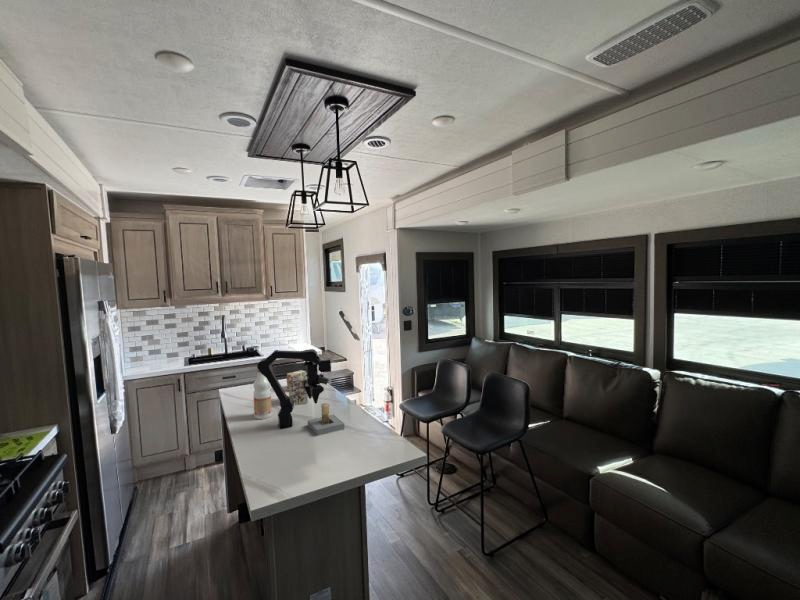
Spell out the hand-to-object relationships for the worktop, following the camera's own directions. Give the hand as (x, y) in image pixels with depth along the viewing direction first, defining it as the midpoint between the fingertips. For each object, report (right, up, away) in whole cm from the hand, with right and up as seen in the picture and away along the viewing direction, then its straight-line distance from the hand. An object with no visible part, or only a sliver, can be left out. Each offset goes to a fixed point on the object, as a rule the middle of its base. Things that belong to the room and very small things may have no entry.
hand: (313, 400), depth 204 cm
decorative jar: (-18, -11, +37) cm, 42 cm away
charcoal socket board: (+8, -13, -4) cm, 16 cm away
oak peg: (+8, -13, -4) cm, 16 cm away
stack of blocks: (-23, -9, +67) cm, 71 cm away
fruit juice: (-32, -13, +13) cm, 37 cm away
